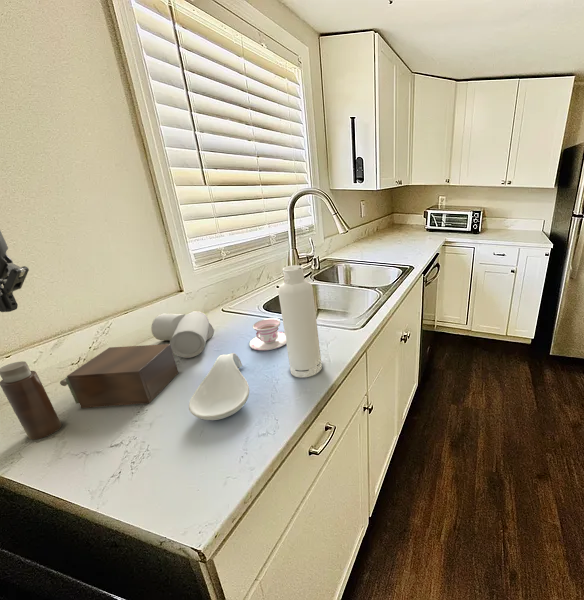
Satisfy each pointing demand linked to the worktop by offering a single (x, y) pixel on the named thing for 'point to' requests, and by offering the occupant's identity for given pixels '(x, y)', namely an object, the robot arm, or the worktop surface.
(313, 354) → the bottle
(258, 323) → the teacup
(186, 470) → the worktop surface
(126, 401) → the cabinet
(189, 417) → the worktop surface
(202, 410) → the spoon rest
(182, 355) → the l-shaped cylinder
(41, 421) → the pepper mill
